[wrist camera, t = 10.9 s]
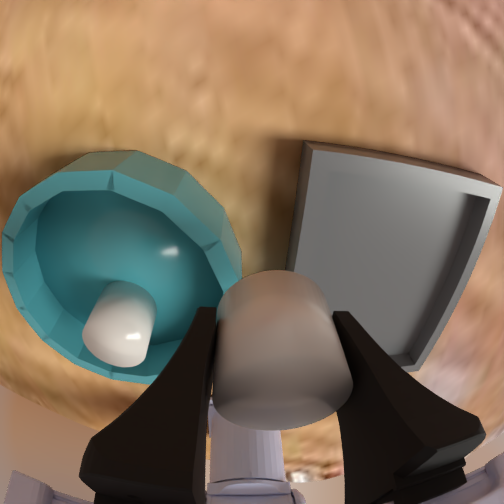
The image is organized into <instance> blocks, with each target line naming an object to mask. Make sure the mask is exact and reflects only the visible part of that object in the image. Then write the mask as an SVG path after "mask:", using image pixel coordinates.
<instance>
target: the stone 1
mask: <svg viewBox="0 0 504 504" xmlns="http://www.w3.org/2000/svg"><path fill="white" fill-rule="evenodd" d="M156 315H157V306H156V303H155V300H154V299H153V297H152V296H151V295H150V294H149V292H147V291H146V290H145V289H144V288H142V287H141V286H139V285H137V284H134V283H131V282H127V281H115V282H112V283H110V284H108V285H106V286H105V287H104V289H103V290H102V292H101V294H100V296H99V298H98V300H97V302H96V304H95V306H94V308H93V310H92V312H91V314H90V316H89V318H88V320H87V322H86V324H85V327H84V329H83V332H82V338H83V341H84V344H85V345H86V347H87V348H88V350H89V351H90V352H91V353H92V354H93V355H94V356H96V357H97V358H98V359H100V360H102V361H104V362H106V363H108V364H111V365H114V366H118V367H133V366H136V365H139V364H140V363H142V362H143V360H144V359H145V357H146V353H147V349H148V345H149V341H150V337H151V333H152V330H153V326H154V322H155V319H156Z"/></svg>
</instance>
